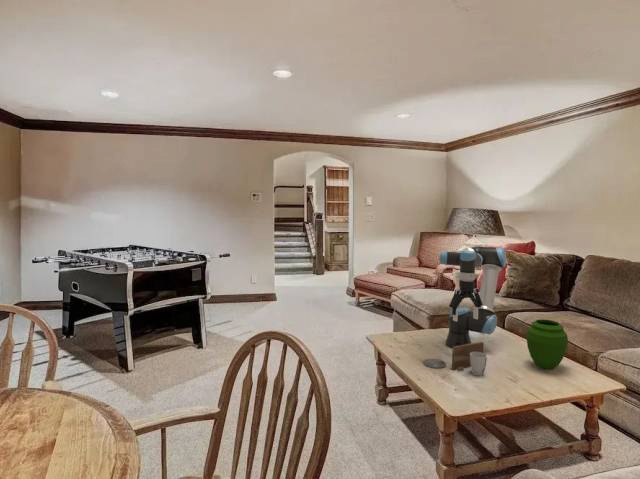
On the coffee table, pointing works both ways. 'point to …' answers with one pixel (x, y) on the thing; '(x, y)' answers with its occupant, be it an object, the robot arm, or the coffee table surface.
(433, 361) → the coaster
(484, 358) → the cup
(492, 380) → the coffee table surface
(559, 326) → the vase
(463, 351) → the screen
